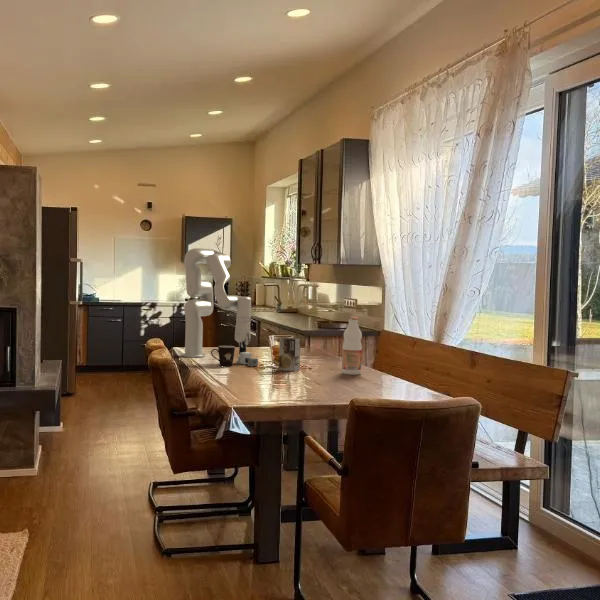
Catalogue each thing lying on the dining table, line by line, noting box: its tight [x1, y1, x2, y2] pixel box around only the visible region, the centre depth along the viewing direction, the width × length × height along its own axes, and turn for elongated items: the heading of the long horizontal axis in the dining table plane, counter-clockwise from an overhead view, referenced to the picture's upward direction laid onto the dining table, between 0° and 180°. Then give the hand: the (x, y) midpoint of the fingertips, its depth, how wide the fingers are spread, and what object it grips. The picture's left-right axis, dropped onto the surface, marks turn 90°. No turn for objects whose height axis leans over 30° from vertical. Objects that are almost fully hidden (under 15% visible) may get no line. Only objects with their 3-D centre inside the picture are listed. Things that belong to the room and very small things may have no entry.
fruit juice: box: [341, 316, 363, 376], centre depth 357 cm, size 9×9×28 cm
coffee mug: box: [210, 345, 236, 368], centre depth 368 cm, size 12×9×10 cm
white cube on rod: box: [239, 351, 252, 365], centre depth 378 cm, size 4×4×6 cm
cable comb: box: [235, 355, 241, 364], centre depth 382 cm, size 1×6×4 cm, turn 121°
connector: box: [248, 357, 259, 367], centre depth 370 cm, size 2×4×4 cm, turn 121°
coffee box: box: [278, 336, 301, 372], centre depth 362 cm, size 9×6×16 cm
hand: (242, 354), depth 381 cm, fingers closed
